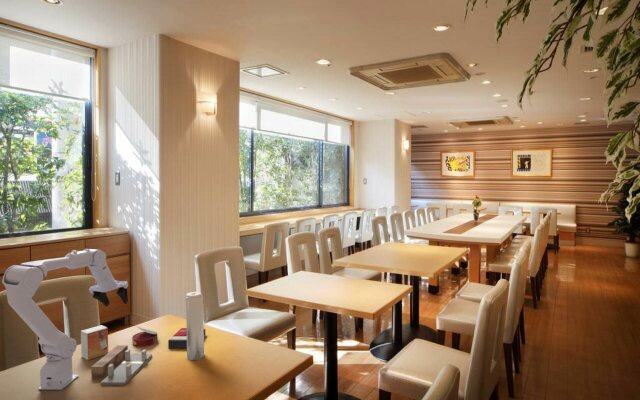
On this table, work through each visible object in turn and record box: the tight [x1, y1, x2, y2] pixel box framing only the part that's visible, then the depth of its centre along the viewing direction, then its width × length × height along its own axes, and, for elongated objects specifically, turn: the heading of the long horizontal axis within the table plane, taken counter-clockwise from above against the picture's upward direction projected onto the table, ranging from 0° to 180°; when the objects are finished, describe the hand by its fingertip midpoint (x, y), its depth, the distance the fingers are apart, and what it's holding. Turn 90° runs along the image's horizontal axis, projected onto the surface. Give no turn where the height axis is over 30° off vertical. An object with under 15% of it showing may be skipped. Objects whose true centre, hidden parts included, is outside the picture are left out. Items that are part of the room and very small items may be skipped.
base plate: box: [100, 349, 153, 386], centre depth 149 cm, size 22×8×4 cm, turn 179°
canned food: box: [131, 323, 158, 348], centre depth 174 cm, size 11×10×10 cm
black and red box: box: [167, 327, 206, 350], centre depth 175 cm, size 11×4×15 cm
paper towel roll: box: [185, 291, 205, 361], centre depth 159 cm, size 6×6×25 cm
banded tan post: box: [90, 344, 129, 379], centre depth 152 cm, size 18×4×4 cm, turn 179°
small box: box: [80, 324, 109, 361], centre depth 161 cm, size 8×6×10 cm
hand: (117, 303), depth 162 cm, fingers open, 7 cm apart
